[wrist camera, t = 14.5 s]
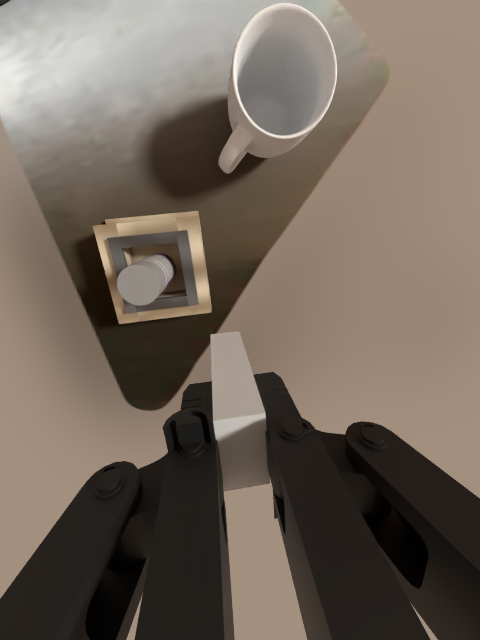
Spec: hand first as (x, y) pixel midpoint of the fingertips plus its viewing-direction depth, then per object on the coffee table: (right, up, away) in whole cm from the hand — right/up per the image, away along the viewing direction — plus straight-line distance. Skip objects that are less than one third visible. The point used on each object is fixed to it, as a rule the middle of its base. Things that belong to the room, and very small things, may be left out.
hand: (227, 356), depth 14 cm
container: (-12, +10, +28) cm, 32 cm away
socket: (-12, +11, +29) cm, 33 cm away
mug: (+3, +30, +25) cm, 39 cm away
